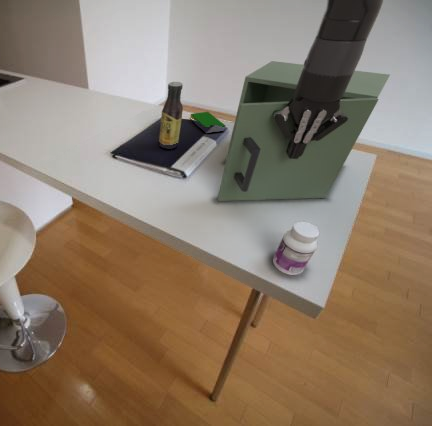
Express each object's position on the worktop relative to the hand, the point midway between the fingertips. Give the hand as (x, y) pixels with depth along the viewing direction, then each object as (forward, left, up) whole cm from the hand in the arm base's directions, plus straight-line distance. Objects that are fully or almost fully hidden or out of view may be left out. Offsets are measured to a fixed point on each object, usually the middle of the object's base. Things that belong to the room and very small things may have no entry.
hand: (292, 157), depth 61 cm
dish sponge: (+35, -33, -14) cm, 50 cm away
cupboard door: (0, 0, -13) cm, 13 cm away
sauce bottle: (+37, -11, -14) cm, 41 cm away
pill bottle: (-8, +17, -14) cm, 23 cm away
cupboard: (+5, -21, -13) cm, 25 cm away
